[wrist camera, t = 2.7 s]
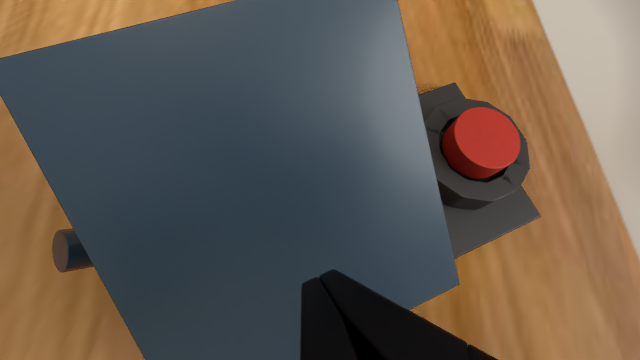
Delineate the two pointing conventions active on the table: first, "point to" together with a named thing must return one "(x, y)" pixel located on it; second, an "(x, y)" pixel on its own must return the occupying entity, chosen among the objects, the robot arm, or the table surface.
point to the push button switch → (474, 194)
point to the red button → (480, 143)
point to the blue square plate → (238, 167)
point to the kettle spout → (69, 251)
